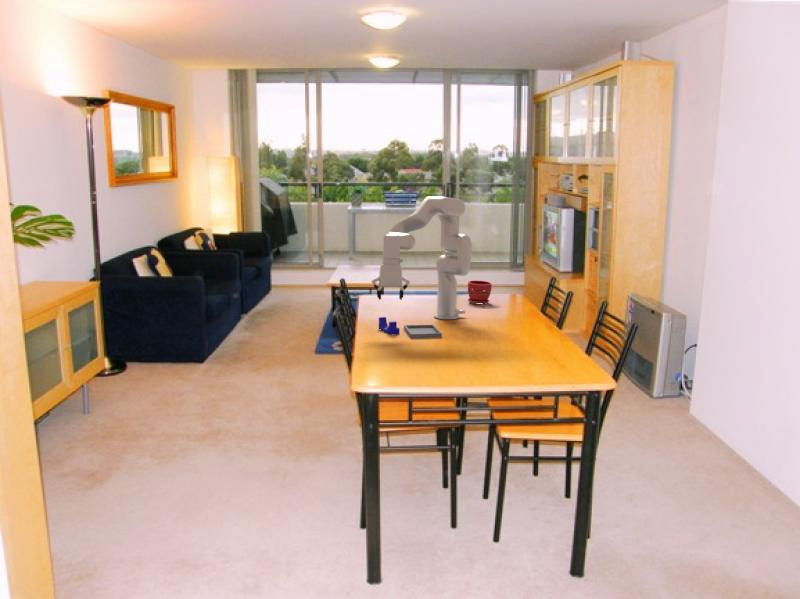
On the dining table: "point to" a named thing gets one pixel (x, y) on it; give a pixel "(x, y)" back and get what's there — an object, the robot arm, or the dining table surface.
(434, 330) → the shallow rectangular tray
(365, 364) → the dining table surface
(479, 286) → the plant pot
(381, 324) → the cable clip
